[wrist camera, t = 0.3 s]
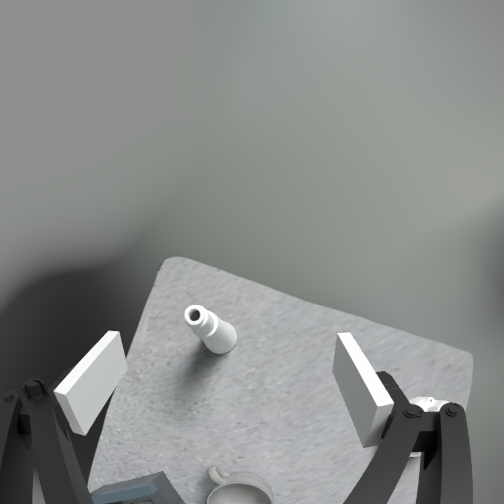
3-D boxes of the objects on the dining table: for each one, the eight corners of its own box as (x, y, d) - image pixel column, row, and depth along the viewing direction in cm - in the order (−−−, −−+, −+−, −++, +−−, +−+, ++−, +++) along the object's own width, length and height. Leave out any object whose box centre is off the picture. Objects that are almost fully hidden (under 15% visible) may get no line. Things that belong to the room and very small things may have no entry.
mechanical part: (399, 461, 38) (428, 476, 28) (372, 422, 43) (400, 433, 32) (438, 423, 41) (472, 429, 30) (414, 385, 45) (448, 385, 34)
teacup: (281, 500, 37) (284, 519, 30) (227, 516, 35) (223, 535, 28) (251, 445, 42) (250, 457, 35) (196, 462, 41) (186, 476, 33)
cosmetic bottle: (229, 358, 49) (208, 351, 28) (198, 346, 50) (159, 329, 29) (241, 328, 51) (230, 299, 31) (211, 316, 52) (181, 280, 32)
